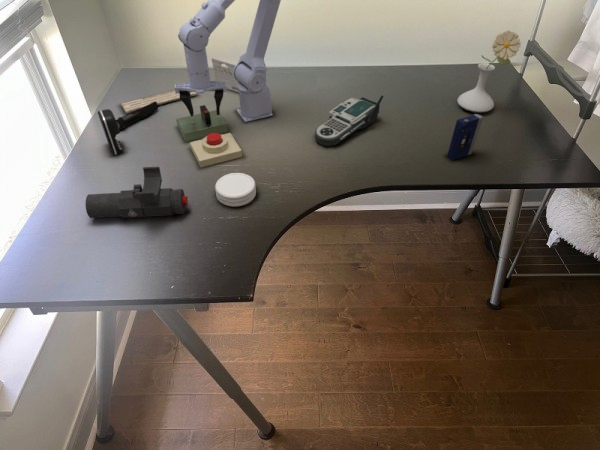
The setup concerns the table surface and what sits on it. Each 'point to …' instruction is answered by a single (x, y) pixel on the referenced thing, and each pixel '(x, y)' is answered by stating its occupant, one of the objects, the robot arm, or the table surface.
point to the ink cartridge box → (225, 74)
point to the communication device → (347, 120)
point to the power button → (214, 139)
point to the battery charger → (110, 130)
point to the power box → (215, 151)
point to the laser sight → (139, 199)
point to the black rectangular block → (205, 114)
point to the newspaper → (158, 98)
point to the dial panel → (201, 126)
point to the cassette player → (464, 136)
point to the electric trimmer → (136, 115)
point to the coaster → (235, 189)
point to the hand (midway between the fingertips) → (205, 113)
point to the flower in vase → (478, 97)
